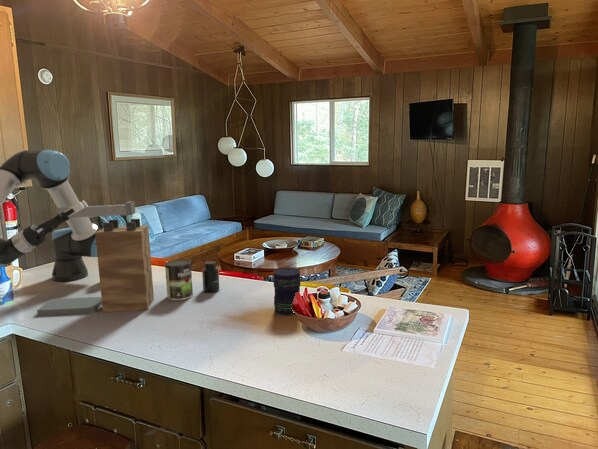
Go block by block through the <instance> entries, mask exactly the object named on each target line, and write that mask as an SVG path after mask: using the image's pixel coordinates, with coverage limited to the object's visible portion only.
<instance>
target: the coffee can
mask: <svg viewBox="0 0 598 449" xmlns="http://www.w3.org/2000/svg"><path fill="white" fill-rule="evenodd" d="M164 268H165V282H166V284H165V285H166V294H167V295H166V298H167V299H168V300H170V301H184V300H185V301H186V300H188V299H190V298H192V297H193V296H194V293H193V278H192V277H193V275H192V274H193V273H192V261H191V260H189V259H188V260H187V259H173V260H169V261H167V262H165V263H164Z"/></svg>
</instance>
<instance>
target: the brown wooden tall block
mask: <svg viewBox="0 0 598 449" xmlns="http://www.w3.org/2000/svg"><path fill="white" fill-rule="evenodd" d="M102 225H103V228H101V229H99V231H97V232H96V233H95V237H96V247H97V257H96V258H97V266H98V275H99V276H98V277H99V285H100V286H99V287H100V295H101V296H100V297H101V298H102V305H101V307H102V313H112V312H114V313H115V312H130V311H131V312H132V311H133V312H134V311H148V310H149V308H150V307H151V305H152V303H153V302H154V300H155V295H154V284H153V282H154V281H153V269H152V268H153V267H152V259H151V258H152V256H151V244H150V243H151V242H150V241H151V240H150V230H149V224H148V225H145V224H143V225H141V219H140V218H131V219H130V221H126V223H125V225H119V219H116V218H115V219H109V220H108V222H103V224H102Z"/></svg>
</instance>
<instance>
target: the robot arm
mask: <svg viewBox="0 0 598 449" xmlns="http://www.w3.org/2000/svg"><path fill="white" fill-rule="evenodd" d="M70 164H71V163H70V162H69V159H68V157H67V156H66V155H64V153H62V152H61V151H58V150H52V149H44V150H43V149H42V150H29V149H27V150H22V151H19V152H17V153H15V154H12V156H10V157H9V158H8V159H6V160H5V161H4V162H3V163H2V164H1V165H0V207H1V206H2V204H3V203H4V202H5V201H6V200H7V198H8V197H9V195H11V193H12V192H13V191H14V190H15V188H19V187H20V186H21V185H22V184H23V183H24V182H26V181H29V180H31V181H32V180H33V181H35V180H36V182H37V184H38V185H39V187H40V188H41V189H42V190H47V192H48V194H49V195H50V197H51V199H52V200H53V202H54V204H55V206H56V207H57V209H58V208H60V207H70V208H69V209H67V210H66V211H64V212H65V213H64V212H63V213H61V214H58V213H57V215H56V216H54V217H52V218H51V219H49V220H47V221H45V222H44V223H40V224H39V225H36V224H30V225H28V226H27V227H25V228H24V229H23V230H20V231H18V232H17V233H16V234H14V235H12V236H11V237H10V238H8V239H3V238H1V237H0V269H1V268H4V267H7V266H8V265H11V264H12V263H13V262H14V261H16V260H18V259H20V258H21V257H23V256H24V255H25V254H27V253H31V252H32V250H33V249H35V248H36V247H38V246H40V245H41V244H43V243H45V242H46V240H47V237H46V235H47V234H50V233H51V243H52V250H53V251H52V252H53V257H54V258H53V259H54V264H53V268H52V271H51V278H52V281H55V282H68V281H69V282H70V281H75V280H79V279H83V278H86V277H88V275H89V272H88V267H87V266H86V264H85V262H84V258H83V257H85V258H86V257H87V258H98V257H97V247H96V237H95V233H96V232H97V231H99V230H100V228H99V226H98V225H97V224H96V223H93V222H91V219H90V218H89V217H73V218H69V217H71V216H72V215H74V214H76V213H77V212H79V211H80V210H82V209H84V207H83V206H89V205H88V203H87V202H86V201H85V200H82V201H79V197H77V195H76V193H75V191H74V190H73V187H72V186H71V184H70V183H69V179H70V172H71V169H70ZM67 216H68V218H67ZM65 222H66V224H67V225H68V227H66V228H64V227H63V228H60V229H57V228H58V227H59V226H60V225H61V224H63V223H65ZM55 229H56V230H55Z"/></svg>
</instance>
